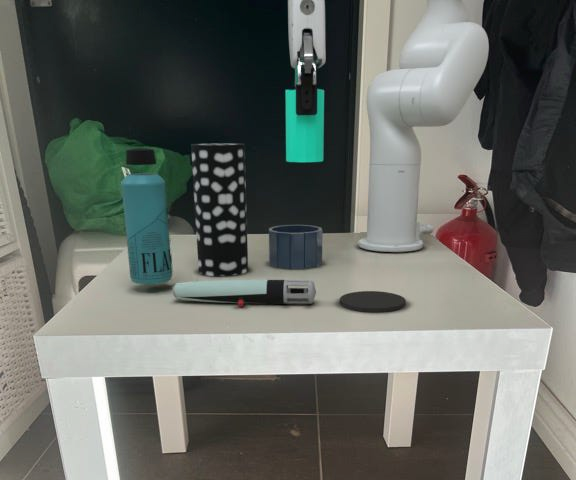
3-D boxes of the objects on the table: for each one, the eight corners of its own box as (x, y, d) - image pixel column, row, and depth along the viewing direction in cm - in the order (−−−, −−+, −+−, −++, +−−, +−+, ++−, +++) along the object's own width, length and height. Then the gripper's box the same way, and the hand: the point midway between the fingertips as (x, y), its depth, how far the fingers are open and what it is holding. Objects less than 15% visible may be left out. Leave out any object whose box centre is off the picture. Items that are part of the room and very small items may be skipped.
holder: (302, 256, 119) (302, 223, 117) (332, 264, 112) (332, 229, 110) (259, 262, 115) (258, 228, 112) (288, 271, 108) (287, 235, 105)
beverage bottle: (140, 296, 93) (125, 149, 85) (124, 287, 98) (109, 148, 90) (181, 290, 96) (171, 148, 88) (163, 281, 101) (152, 146, 94)
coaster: (376, 291, 95) (376, 287, 94) (419, 305, 88) (419, 301, 87) (326, 301, 90) (326, 296, 90) (368, 316, 83) (368, 311, 83)
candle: (285, 160, 106) (284, 79, 101) (321, 159, 106) (322, 79, 102) (287, 162, 100) (286, 77, 96) (325, 162, 101) (326, 77, 96)
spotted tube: (188, 273, 107) (180, 144, 99) (216, 263, 114) (210, 143, 106) (231, 278, 103) (225, 145, 95) (257, 268, 110) (254, 143, 102)
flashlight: (166, 296, 87) (315, 297, 85) (172, 274, 89) (316, 274, 88) (171, 313, 89) (315, 314, 88) (176, 291, 92) (316, 292, 90)
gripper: (337, -32, 86) (334, 114, 93) (325, -8, 102) (323, 115, 109) (281, -32, 86) (282, 115, 93) (278, -8, 102) (279, 115, 109)
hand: (304, 113), depth 101 cm, fingers closed on candle, 6 cm apart
